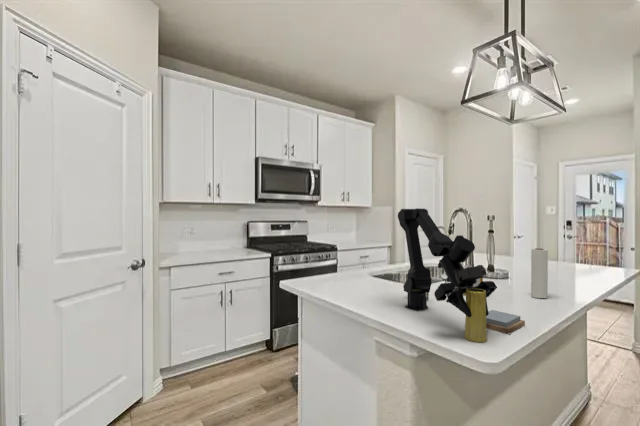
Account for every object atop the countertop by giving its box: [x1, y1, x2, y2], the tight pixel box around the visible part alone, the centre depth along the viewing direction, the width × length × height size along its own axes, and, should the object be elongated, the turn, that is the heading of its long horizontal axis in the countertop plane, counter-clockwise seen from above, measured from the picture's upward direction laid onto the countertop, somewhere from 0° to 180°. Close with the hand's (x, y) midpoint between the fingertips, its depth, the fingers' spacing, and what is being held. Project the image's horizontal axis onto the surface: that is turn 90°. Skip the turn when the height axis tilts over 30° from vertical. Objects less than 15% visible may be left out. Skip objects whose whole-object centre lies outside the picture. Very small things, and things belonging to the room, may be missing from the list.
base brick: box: [486, 319, 526, 335], centre depth 112 cm, size 11×13×2 cm
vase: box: [463, 288, 488, 343], centre depth 99 cm, size 6×6×14 cm
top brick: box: [486, 309, 521, 328], centre depth 112 cm, size 9×11×2 cm
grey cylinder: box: [530, 247, 549, 299], centre depth 149 cm, size 7×6×21 cm
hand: (479, 315), depth 98 cm, fingers closed on vase, 5 cm apart
